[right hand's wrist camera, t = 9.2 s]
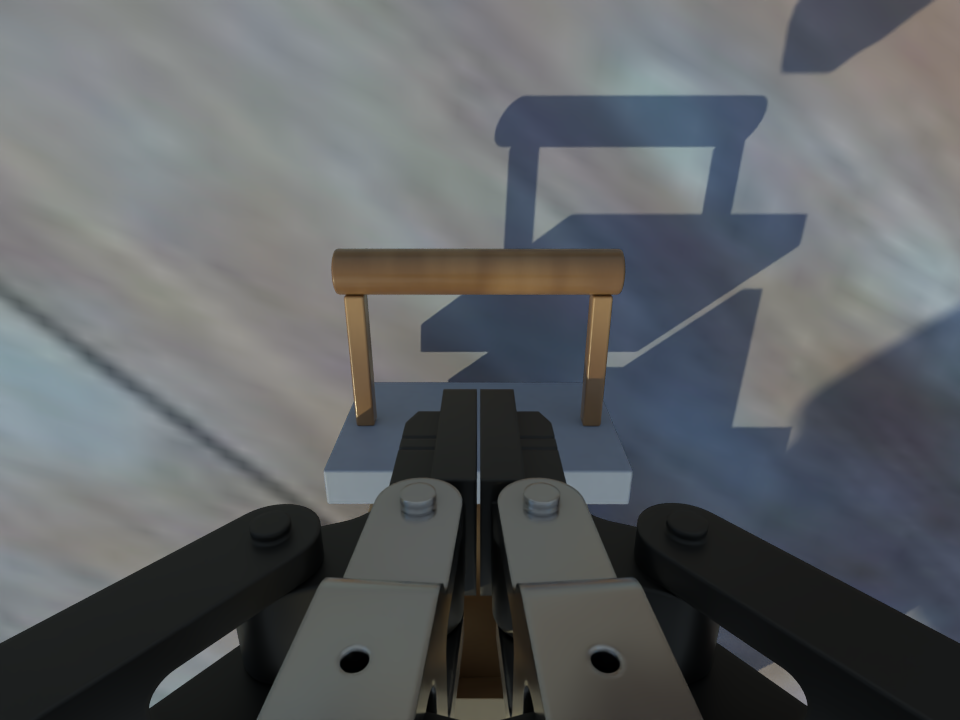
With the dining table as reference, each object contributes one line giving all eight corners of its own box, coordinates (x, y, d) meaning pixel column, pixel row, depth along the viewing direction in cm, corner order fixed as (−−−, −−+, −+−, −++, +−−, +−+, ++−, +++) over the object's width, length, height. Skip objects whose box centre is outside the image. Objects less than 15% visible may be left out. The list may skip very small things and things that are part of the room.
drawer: (347, 228, 20) (296, 274, 14) (609, 229, 20) (658, 274, 14) (387, 666, 28) (365, 799, 23) (570, 666, 28) (592, 799, 23)
